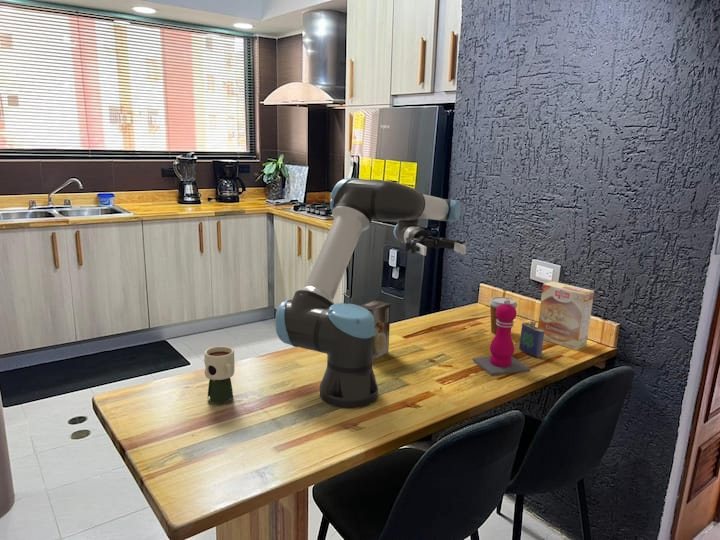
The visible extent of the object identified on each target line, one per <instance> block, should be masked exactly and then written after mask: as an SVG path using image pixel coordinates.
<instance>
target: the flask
mask: <svg viewBox="0 0 720 540" xmlns="http://www.w3.org/2000/svg"><path fill="white" fill-rule="evenodd" d="M536 324H537V322H536V321H533V320H532V321H529V322H522V324H521V329H520V330H521V331H520V337H519V338H520V339H519V345H518V350H519V351H521V352H523V353H524V354H527V355H528V356H531V357H533V358H536V359H540V358H542V354H543V346H544V340H543V338H544V332H545V331H544V330H542V329H539V328H538V326H536Z"/></svg>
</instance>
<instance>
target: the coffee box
mask: <svg viewBox="0 0 720 540" xmlns="http://www.w3.org/2000/svg"><path fill="white" fill-rule="evenodd" d="M391 304H392V303H388V302H385V301H379V300H375V299H374V300H371V301H368V302H366V303H363V304H360V305H359V306H361V307H364V308H365V309H367V310H369V311H370V312H371V314H372V315H373V317H374V328H375V334H374V347H373V361H374V360H376V359H377V358H379V357H382V356H384V355H386V354H388V353H389V347H390V346H389V345H390V344H389V343H390V329H391V327H390V325H391V322H390V321H391Z"/></svg>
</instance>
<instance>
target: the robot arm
mask: <svg viewBox="0 0 720 540" xmlns="http://www.w3.org/2000/svg"><path fill="white" fill-rule="evenodd" d="M330 198H331V199H330V201H329V204H330V205H329V207H330V210H331V215H332V218H333V222H332V223H331V226H330V229H329V230H328V233H327V235H326V237H325V240H324V241H323V244H322V246H321V249H320V250H319V252H318V255H317V257H316V259H315V262H314V263H313V266H312V268H311V270H310V273H309V276H308V277H307V280H306V282H305V284H304V286H303V288H299V289H297V290H296V291H295V292H294V295H293V297H292V299H291V298H289V299H285V300H283V301H282V302H281V303H280V304H279V306H278V308H277V310H276V313H275V319H274V323H275V324H274V326H275V332H276V335H277V337H278V339H279V340H280V341H281V342H283V343H284V344H286V345H290V346H292V347H295V348H300V349H301V348H302V349H305V350H309V351H313V352H317V353H323V354H326V356H327V357H326V359H327V360H326V369H325V371H324V374H323V377H322V379H321V382H320V385H319V397H320V399H321V400H322V402H324V403H326V404H327V405H329V406H332V407H336V408H339V409H359V408H365V407H368V406H370V405H373V404H374V403H375V402H377V400H378V398H379V397H378V396H379V385H378V382H377V379H376V375H375V373H374V369H373V366H374V365H373V361H374V360H373V347H374V334H375V328H374V317H373V315H372V314H371V312H370V311H369V310H367V309H365V308H364V307H361V306H360V305H358V304H354V303H344V302H339V303H335V302H334V299H335V296H336V294H337V291H338V289H339V286H340V284H341V281H342V280H343V277H344V276H345V272H346V269H347V268H348V266H349V262H350V260H351V259H352V255H353V253H354V251H355V248H356V246H357V243H358V241H359V238H360V237H361V234H362V232H364V231H366V230H368V229H369V227H370V226H371V223H372V221H379V222H397V224H396V225H395V226H394V228H393V235H394V238H395V239H396V240H397V241H399V243H401V244H404V245H405V249H404V250H405V251H407V252H409V251H410V254H416V253H417V254H420V255H422V256H425V257H426V256H427V250H428V249H447V250H448V249H449V250H453V251H454V252H456V253H458V254H461V255H464V256H465V255H466V254H467V253H466V252H467V245H464V241H461V240H459V239H457V240H454V239H448V238H445V237H442V236H441V237H434V236H433V235H432V234H431V232H430V231H428V229H427V230H426V229H424V228H422V227H419V222H420V219H427V220H434V221H442V222H443V221H444V222H453V223H454V222H457V221H458V220H459V218H460V215H461V211H462V210H461V202H460V201H459V200H458V199H457V200H456V199H455V200H454V199H448V198H447V199H446V198H442V197H437V196H433V195H428V194H424V193H422V191H420V190H419V189H417V188H414V187H411V186H408V185H405V184H402V183H398V182H395V181H390V180H378V179H364V178H358V177H353V178H352V177H351V178H343V179H341V180H339V181H338V182H337V183H336V184H335V185H334V186H333V189H332V190H331V194H330Z"/></svg>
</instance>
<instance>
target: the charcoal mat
mask: <svg viewBox="0 0 720 540" xmlns="http://www.w3.org/2000/svg"><path fill="white" fill-rule="evenodd" d="M490 356H491V355H490ZM490 356H482V357H481V356H480V357H471V358H472V359H471V361H472V360H473V361H474V362H473V361H472V362H473V363H475V364H476V365H477V364H478V365H477V366H479V367H480V368H481V369H482V368H483V369H482V370H483V371H485V372H487V373H488V375H489V376H498V375H507V374H517V373H526V372H531V368H529V367H528V366H527V365H525V363H522V362H521V361H520V360H518V359H517V358H515V357H513V355H512V356H511V359H512V362H511V366H509V367H498V366H495V365H493V364H491V363H490Z"/></svg>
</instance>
